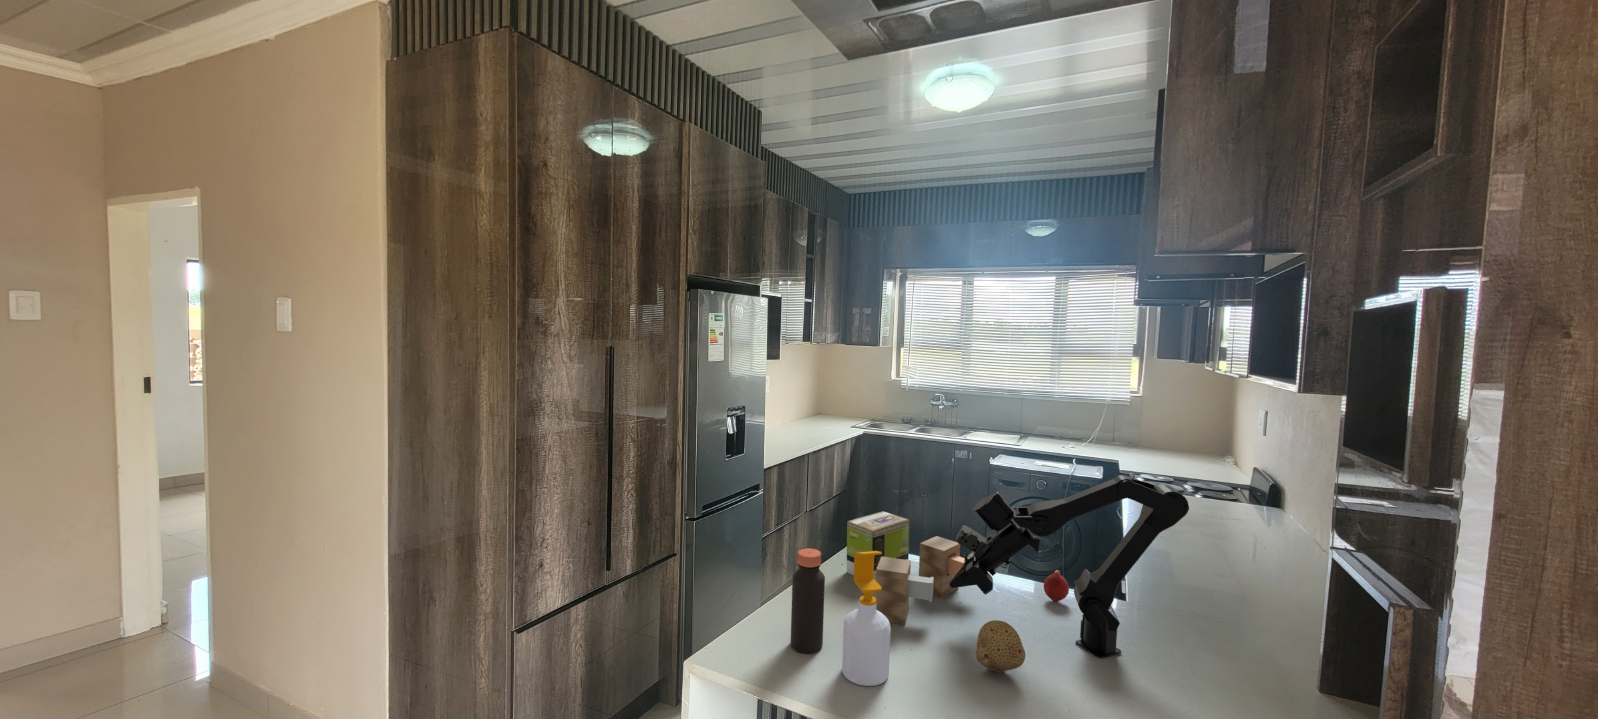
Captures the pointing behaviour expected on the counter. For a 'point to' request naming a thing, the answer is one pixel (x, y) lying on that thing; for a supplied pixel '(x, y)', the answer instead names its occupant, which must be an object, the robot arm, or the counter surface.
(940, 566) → the walnut block right
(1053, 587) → the onion
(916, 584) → the grey key
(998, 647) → the natural sponge
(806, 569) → the vinegar
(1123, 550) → the robot arm
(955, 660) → the counter surface
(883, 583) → the walnut block left
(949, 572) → the tan rectangular block
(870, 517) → the tea box
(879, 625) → the soap bottle
